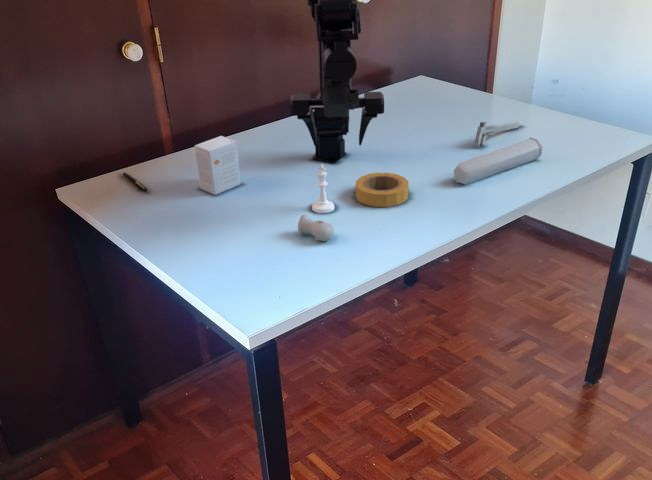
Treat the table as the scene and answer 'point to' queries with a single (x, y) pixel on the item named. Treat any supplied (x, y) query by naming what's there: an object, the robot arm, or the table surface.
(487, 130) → the caliper
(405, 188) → the tape roll
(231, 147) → the small box
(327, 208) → the chess piece
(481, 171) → the tube
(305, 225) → the pale two-lobed sculpture
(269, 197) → the table surface
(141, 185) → the fountain pen
